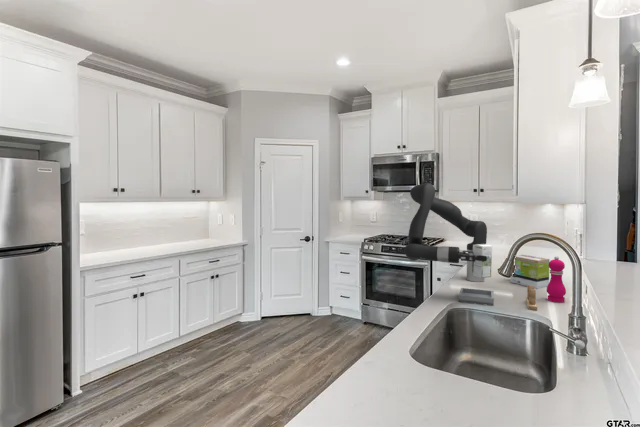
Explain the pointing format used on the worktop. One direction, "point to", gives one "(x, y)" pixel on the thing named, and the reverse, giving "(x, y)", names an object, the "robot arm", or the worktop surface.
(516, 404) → the worktop surface
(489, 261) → the syrup box
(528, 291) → the bench stop
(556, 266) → the pepper mill
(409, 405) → the worktop surface
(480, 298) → the tray
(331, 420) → the worktop surface
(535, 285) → the tea box
